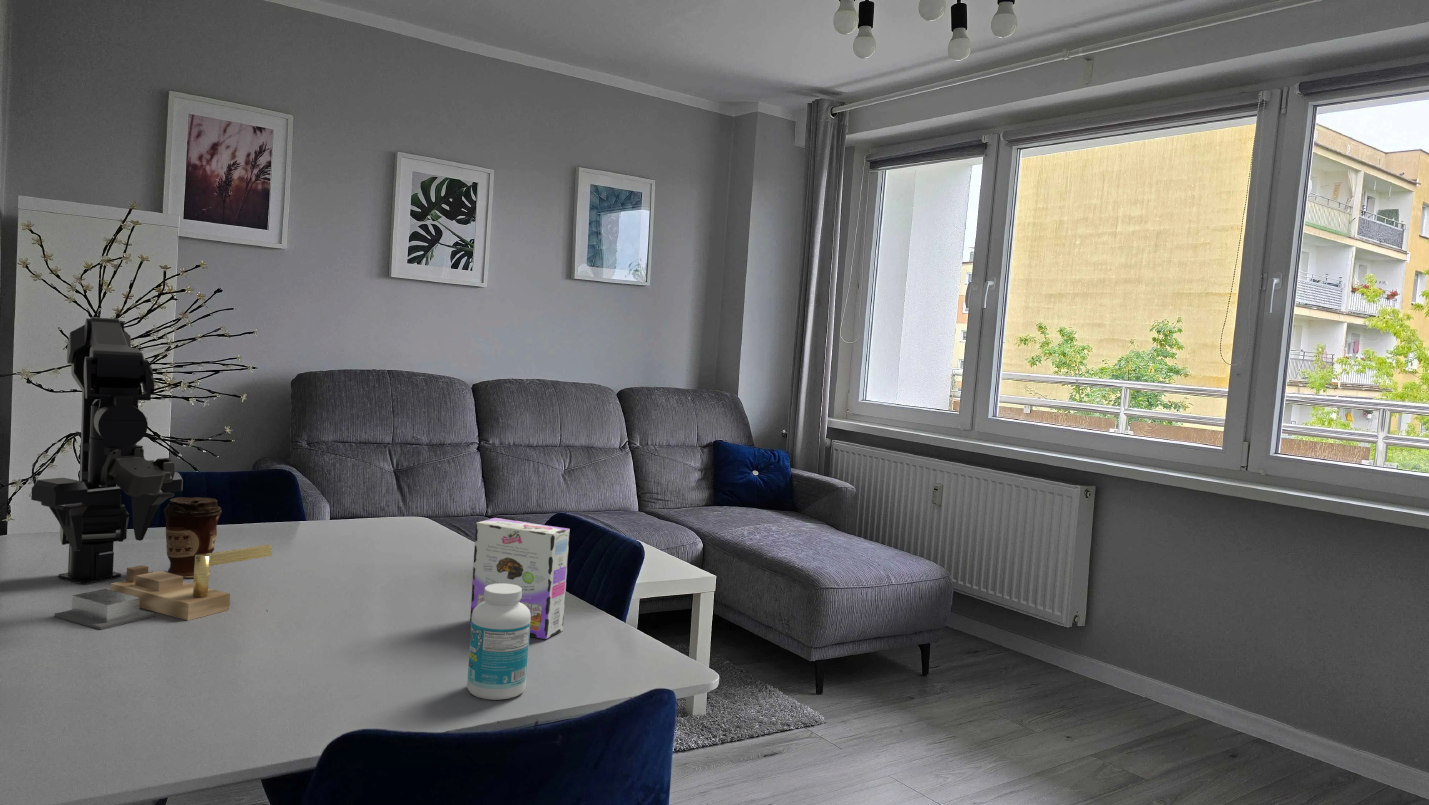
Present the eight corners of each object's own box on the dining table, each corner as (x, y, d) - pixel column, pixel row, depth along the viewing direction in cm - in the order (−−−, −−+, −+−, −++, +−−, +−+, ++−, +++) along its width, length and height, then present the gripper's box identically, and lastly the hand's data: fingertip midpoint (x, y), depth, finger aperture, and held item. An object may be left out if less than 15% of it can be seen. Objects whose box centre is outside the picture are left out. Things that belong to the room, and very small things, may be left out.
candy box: (564, 631, 148) (572, 527, 147) (545, 641, 142) (553, 533, 141) (488, 616, 152) (495, 515, 151) (467, 625, 147) (474, 520, 146)
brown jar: (191, 583, 156) (195, 506, 156) (148, 577, 158) (151, 500, 157) (228, 572, 165) (232, 498, 164) (187, 565, 167) (190, 493, 166)
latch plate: (110, 599, 145) (111, 570, 144) (153, 590, 151) (154, 562, 151) (187, 620, 138) (189, 590, 138) (229, 609, 145) (230, 580, 144)
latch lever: (197, 598, 141) (199, 557, 140) (190, 595, 142) (192, 555, 141) (271, 583, 151) (273, 546, 151) (263, 581, 152) (265, 544, 152)
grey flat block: (71, 612, 136) (72, 595, 136) (104, 605, 141) (105, 588, 140) (106, 622, 133) (107, 605, 133) (139, 614, 138) (139, 597, 137)
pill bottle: (471, 679, 125) (478, 578, 124) (528, 682, 125) (535, 582, 125) (461, 700, 117) (468, 594, 116) (521, 703, 118) (529, 597, 117)
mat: (54, 616, 135) (54, 613, 135) (109, 604, 143) (109, 601, 143) (100, 629, 131) (101, 626, 131) (154, 616, 139) (154, 613, 139)
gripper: (85, 448, 124) (80, 566, 124) (210, 440, 141) (205, 543, 142) (31, 439, 128) (26, 552, 129) (159, 432, 145) (154, 532, 146)
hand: (108, 545), depth 136 cm, fingers open, 9 cm apart
